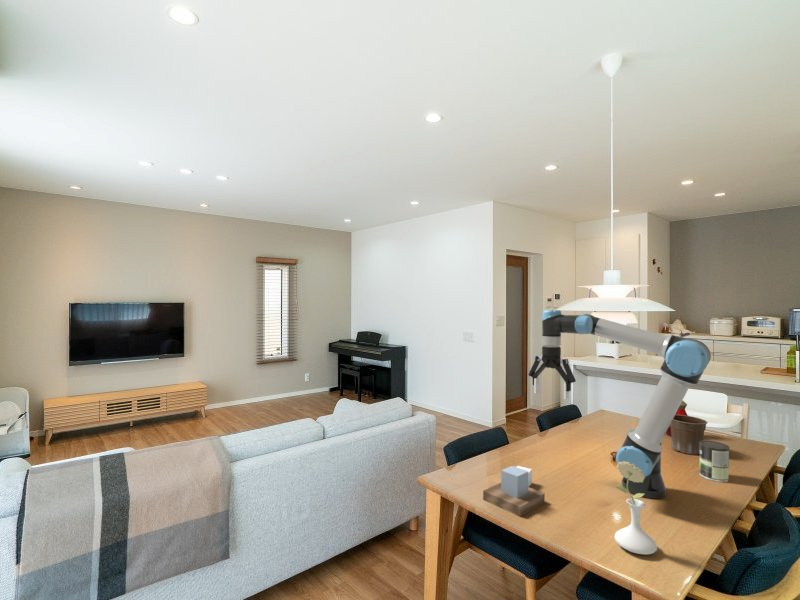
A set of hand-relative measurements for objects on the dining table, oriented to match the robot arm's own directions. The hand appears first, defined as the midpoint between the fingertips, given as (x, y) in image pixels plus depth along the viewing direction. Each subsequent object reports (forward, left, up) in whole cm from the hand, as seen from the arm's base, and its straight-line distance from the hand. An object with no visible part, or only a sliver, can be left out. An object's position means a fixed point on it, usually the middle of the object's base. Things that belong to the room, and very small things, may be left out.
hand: (551, 396), depth 176 cm
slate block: (-2, +30, -31) cm, 43 cm away
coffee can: (-45, -55, -35) cm, 79 cm away
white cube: (+4, +15, -35) cm, 38 cm away
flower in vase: (-42, +26, -35) cm, 60 cm away
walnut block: (-2, +30, -35) cm, 46 cm away
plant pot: (-28, -83, -35) cm, 94 cm away
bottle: (-17, -106, -35) cm, 113 cm away
